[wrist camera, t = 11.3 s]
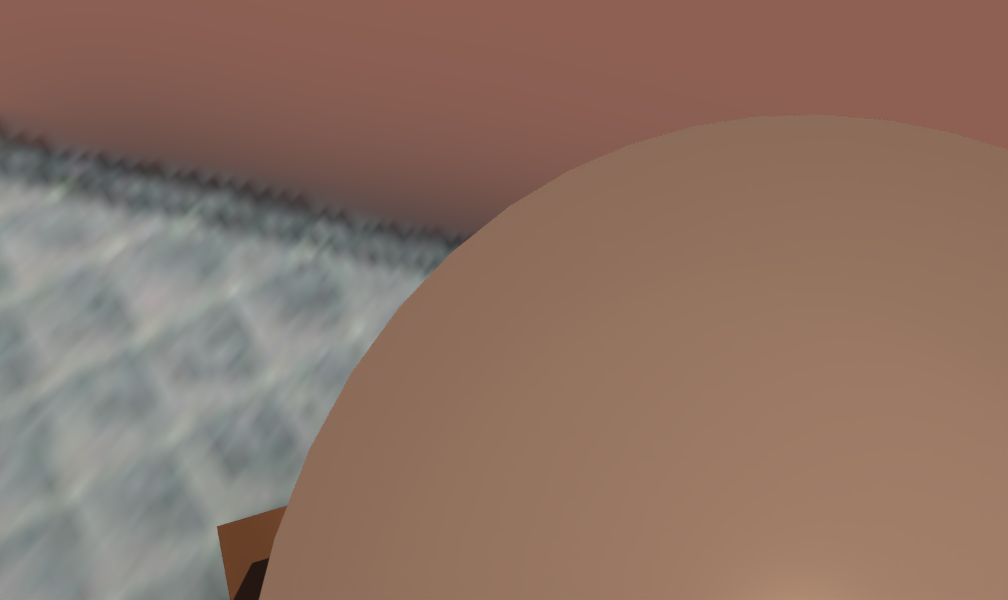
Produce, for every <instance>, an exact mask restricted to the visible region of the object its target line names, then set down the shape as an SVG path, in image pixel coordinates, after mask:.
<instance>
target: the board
mask: <svg viewBox="0 0 1008 600" xmlns="http://www.w3.org/2000/svg"><path fill="white" fill-rule="evenodd" d="M286 508H287V506H285V507H282V508H278V509H275V510H271V511H268V512H265V513H261V514H258V515H254V516H251V517H248V518H244V519H241V520H238V521H234V522H231V523H227V524H224V525H221V526H217V529H218V535H219V540H220V546H221V551H222V557H223V562H224V567H225V573H226V578H227V584H228V589H229V595H230V600H233V599H234V597H235V595H236V593H237V591H238V589H239V587H240V585H241V583H242V582H243V580H244V578H245V576H246V574H247V572H248V570H249V568H250V566H251V564H252V563H254V562H257V561H260V560H263V559H267V558H270V554H271V551H272V547H273V543H274V539H275V536H276V534H277V531H278V529H279V526H280V524H281V521H282V518H283V516H284V513H285V511H286Z"/></svg>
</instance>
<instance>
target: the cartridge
mask: <svg viewBox="0 0 1008 600" xmlns="http://www.w3.org/2000/svg"><path fill="white" fill-rule="evenodd" d="M259 600H1008V150H1007V149H1003V148H1000V147H997V146H993V145H990V144H987V143H984V142H980V141H977V140H974V139H971V138H967V137H964V136H961V135H957V134H954V133H951V132H945V131H940V130H935V129H930V128H925V127H919V126H914V125H910V124H904V123H899V122H894V121H889V120H881V119H868V118H856V117H844V116H832V115H793V116H765V117H764V116H762V117H751V118H745V119H738V120H732V121H725V122H719V123H712V124H706V125H700V126H693V127H689V128H686V129H682V130H679V131H675V132H672V133H668V134H665V135H661V136H658V137H654V138H651V139H647V140H644V141H640V142H637V143H633V144H630V145H627V146H625V147H623V148H620V149H618V150H616V151H613V152H611V153H609V154H607V155H605V156H602V157H600V158H597V159H595V160H593V161H591V162H588V163H586V164H584V165H581V166H579V167H577V168H574V169H572V170H570V171H568V172H566V173H564V174H562V175H561V176H559V177H558V178H556V179H554V180H553V181H551V182H549V183H548V184H546V185H544V186H543V187H541V188H539V189H538V190H536V191H534V192H533V193H531V194H529V195H528V196H526V197H524V198H523V199H521V200H519V201H518V202H516V203H514V204H513V205H511V206H509V207H508V208H507V209H505V210H504V211H503V212H502V213H500V214H499V215H498V216H497V217H496V218H494V219H493V220H492V221H490V222H489V223H488V224H487V225H485V226H484V227H483V228H482V229H480V230H479V231H478V232H477V233H475V234H474V235H473V236H472V237H470V238H469V239H468V240H467V241H465V242H464V243H463V244H462V245H460V246H459V247H458V248H457V249H455V250H454V251H453V252H452V253H451V254H450V255H449V256H448V257H447V258H446V259H445V260H444V261H443V262H442V263H441V264H440V265H439V266H438V267H437V269H436V270H435V271H434V272H433V273H432V274H431V275H430V276H429V277H428V278H427V279H426V280H425V281H424V282H423V283H422V284H421V285H420V286H419V287H418V288H417V290H416V291H415V292H414V293H413V294H412V295H411V296H410V297H409V298H408V299H407V300H406V301H405V302H404V303H403V304H402V305H401V306H400V307H399V309H398V310H397V311H396V313H395V314H394V315H393V317H392V318H391V320H390V321H389V322H388V324H387V325H386V326H385V328H384V329H383V331H382V332H381V333H380V335H379V336H378V337H377V339H376V340H375V342H374V343H373V344H372V346H371V347H370V348H369V350H368V351H367V353H366V354H365V355H364V357H363V358H362V359H361V361H360V362H359V364H358V365H357V366H356V368H355V369H354V370H353V372H352V373H351V375H350V377H349V379H348V380H347V382H346V384H345V386H344V388H343V390H342V391H341V393H340V395H339V397H338V399H337V400H336V402H335V404H334V406H333V408H332V410H331V411H330V413H329V415H328V417H327V419H326V421H325V422H324V424H323V426H322V428H321V430H320V432H319V433H318V435H317V437H316V439H315V441H314V443H313V444H312V446H311V448H310V450H309V452H308V455H307V457H306V460H305V462H304V465H303V468H302V470H301V473H300V475H299V478H298V480H297V483H296V485H295V488H294V490H293V493H292V496H291V498H290V501H289V503H288V506H287V508H286V511H285V513H284V516H283V518H282V521H281V524H280V526H279V529H278V531H277V534H276V536H275V539H274V543H273V547H272V551H271V554H270V558H269V562H268V566H267V570H266V574H265V578H264V582H263V586H262V589H261V593H260V597H259Z"/></svg>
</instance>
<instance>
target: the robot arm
mask: <svg viewBox="0 0 1008 600" xmlns="http://www.w3.org/2000/svg"><path fill="white" fill-rule="evenodd" d="M268 562H269V558H267V559H263V560H260V561H257V562H254V563H252V564H251V566H250V568H249V570H248V572H247V574H246V576H245V578H244V580H243V582H242V583H241V585H240V587H239V589H238V591H237V593H236V595H235V597H234V599H233V600H259V597H260V593H261V589H262V586H263V582H264V578H265V574H266V570H267V566H268Z"/></svg>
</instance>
